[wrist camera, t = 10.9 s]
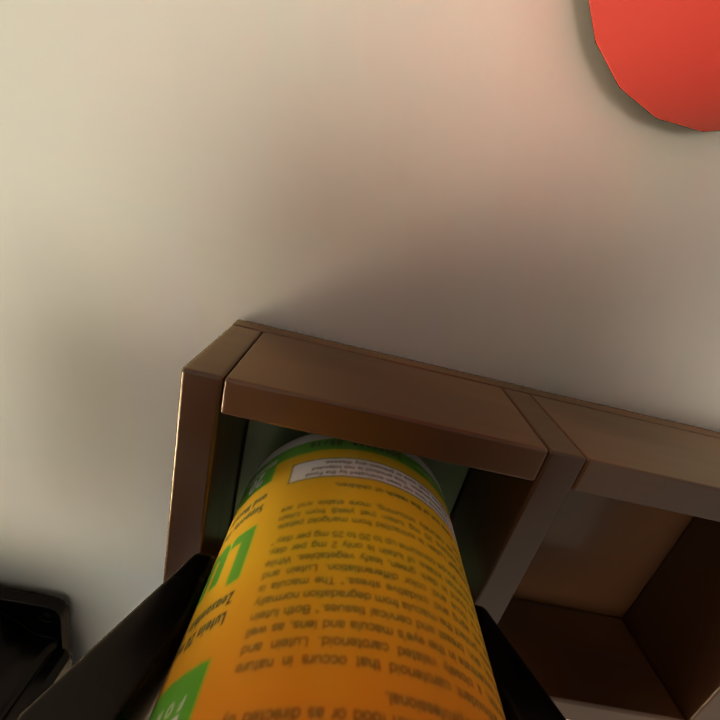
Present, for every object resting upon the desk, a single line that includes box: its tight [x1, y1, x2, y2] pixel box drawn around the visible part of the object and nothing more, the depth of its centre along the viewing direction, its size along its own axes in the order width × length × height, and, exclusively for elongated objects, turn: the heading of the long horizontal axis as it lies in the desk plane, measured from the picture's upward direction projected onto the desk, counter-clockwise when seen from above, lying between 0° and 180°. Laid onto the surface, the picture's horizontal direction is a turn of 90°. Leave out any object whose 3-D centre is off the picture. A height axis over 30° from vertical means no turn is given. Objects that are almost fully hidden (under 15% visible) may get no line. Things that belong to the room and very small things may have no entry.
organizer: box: [163, 320, 720, 720], centre depth 11 cm, size 15×8×4 cm, turn 76°
